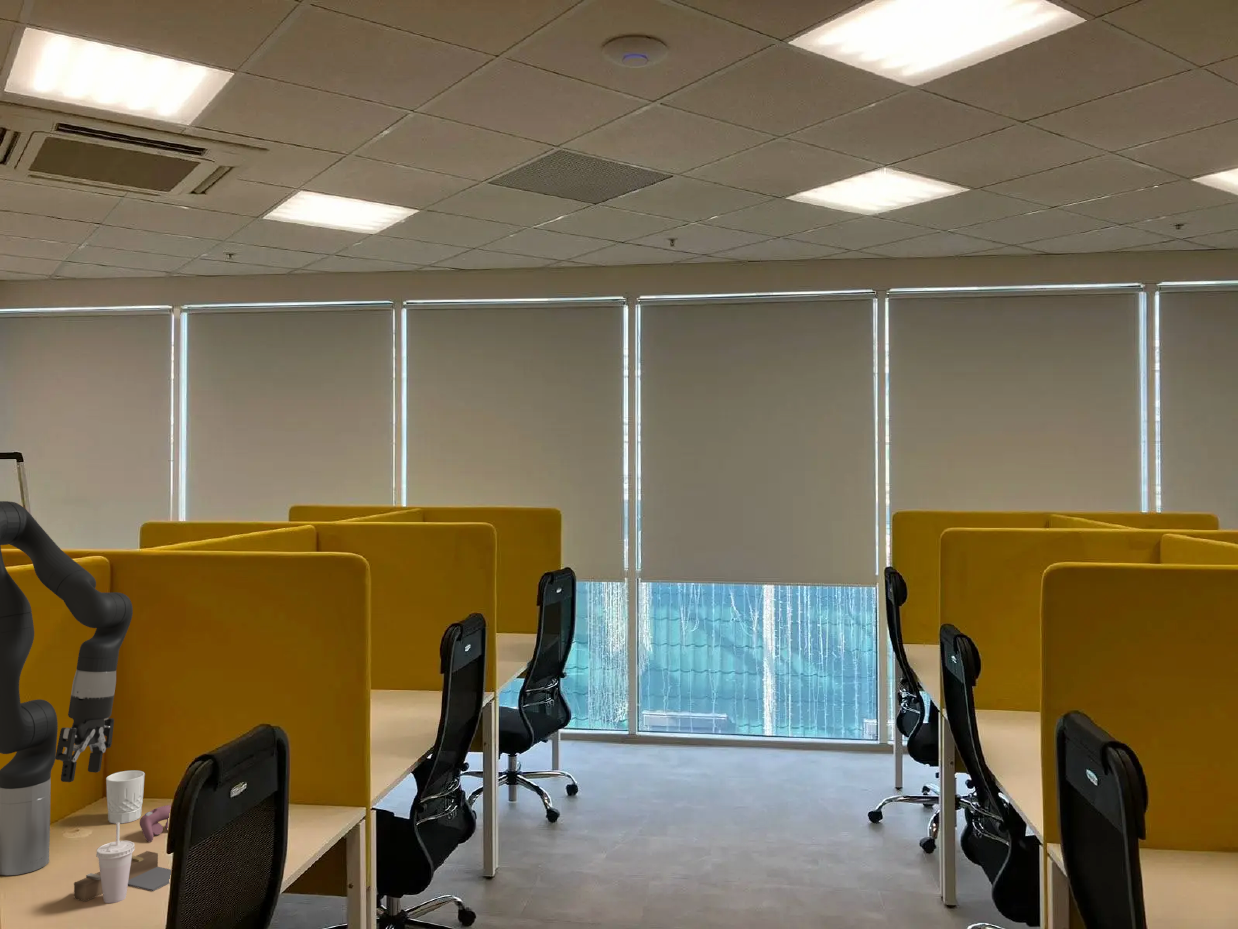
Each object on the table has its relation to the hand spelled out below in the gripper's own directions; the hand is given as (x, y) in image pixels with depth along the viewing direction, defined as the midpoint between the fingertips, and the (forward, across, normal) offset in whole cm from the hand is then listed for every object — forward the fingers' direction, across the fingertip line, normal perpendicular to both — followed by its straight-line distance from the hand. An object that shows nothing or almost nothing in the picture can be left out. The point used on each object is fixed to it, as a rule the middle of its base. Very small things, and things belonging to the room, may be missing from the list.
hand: (80, 776), depth 178 cm
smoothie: (+20, +5, +13) cm, 25 cm away
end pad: (+19, -3, +16) cm, 25 cm away
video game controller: (+18, -26, +6) cm, 32 cm away
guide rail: (+20, -2, +10) cm, 22 cm away
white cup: (+18, -35, -9) cm, 40 cm away
